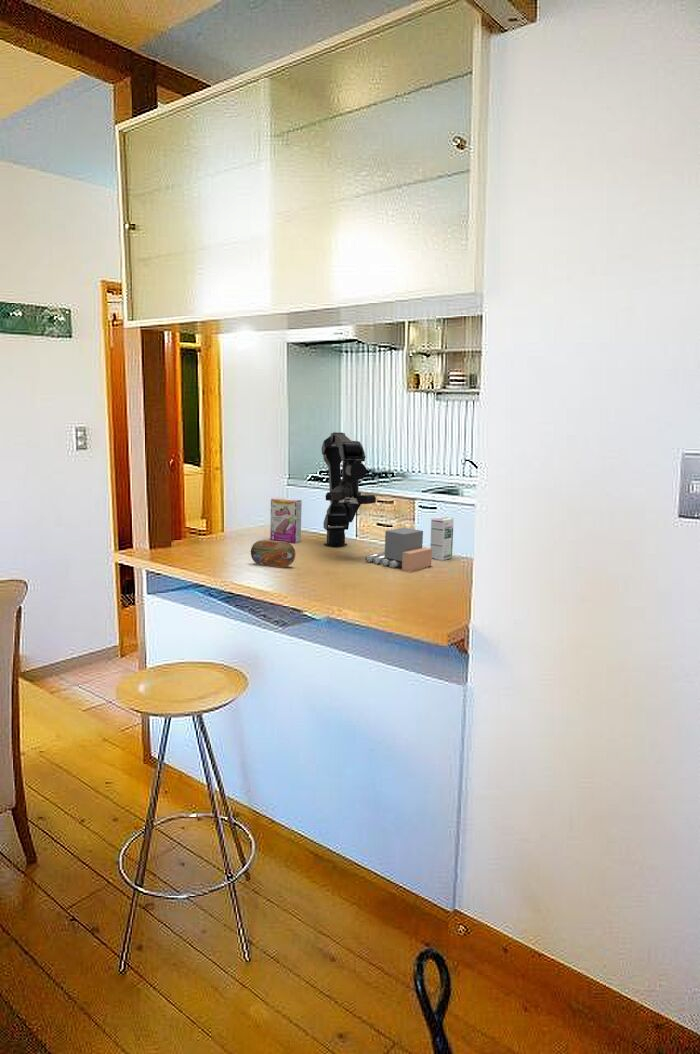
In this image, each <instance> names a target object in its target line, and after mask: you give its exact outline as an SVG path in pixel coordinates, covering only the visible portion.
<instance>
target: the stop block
mask: <svg viewBox="0 0 700 1054" xmlns="http://www.w3.org/2000/svg"><path fill="white" fill-rule="evenodd" d="M432 560H433V558H432V549H431V548H430V547H422V548H420V549H415V550H410V551H406V552H403V557H402V566H401V570H402V571H405V572H408V573H411V572H414V570H415V571H417V570H418V569H419V570H422V569H426V568H429V567H428V566H430V567H432ZM425 567H426V568H425ZM421 568H422V569H421Z"/></svg>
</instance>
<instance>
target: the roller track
mask: <svg viewBox="0 0 700 1054" xmlns="http://www.w3.org/2000/svg"><path fill="white" fill-rule="evenodd" d="M364 559H365V560H364V561H365V562H366V563H368V562H369V563H372V561H373V564H374V565H379V563H380V564H381V566H382V565H383V567H386V566H389V567H390V568H391V567H392V568H391V569H394V568H397V567H402V561H399V560H394V559H389V558H385V551H383V552H378V553H373V554H368V555H365V558H364Z"/></svg>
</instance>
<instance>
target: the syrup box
mask: <svg viewBox="0 0 700 1054" xmlns="http://www.w3.org/2000/svg"><path fill="white" fill-rule="evenodd" d="M430 521H431V522H430V546H429V548H431V549H432V559H433V558H434V560H437V559H439V561H445V560H449V559H453V545H454V543H453V542H454V540H453V538H454V518H453V517H448V516H439V517H432V518H430Z"/></svg>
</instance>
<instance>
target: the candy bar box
mask: <svg viewBox="0 0 700 1054" xmlns="http://www.w3.org/2000/svg"><path fill="white" fill-rule="evenodd" d="M302 505H303V504H302V499H295V498H288V497H287V498H284V497H274V498H273V497H272V498H271V499H270V533H269V534H270V535H269V536H270V537H269V538H270V539H269V541H282V542H288V543H289V542H291V543H290V544H297V543H299V541H300V542H301V541H302ZM296 542H297V543H296Z"/></svg>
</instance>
